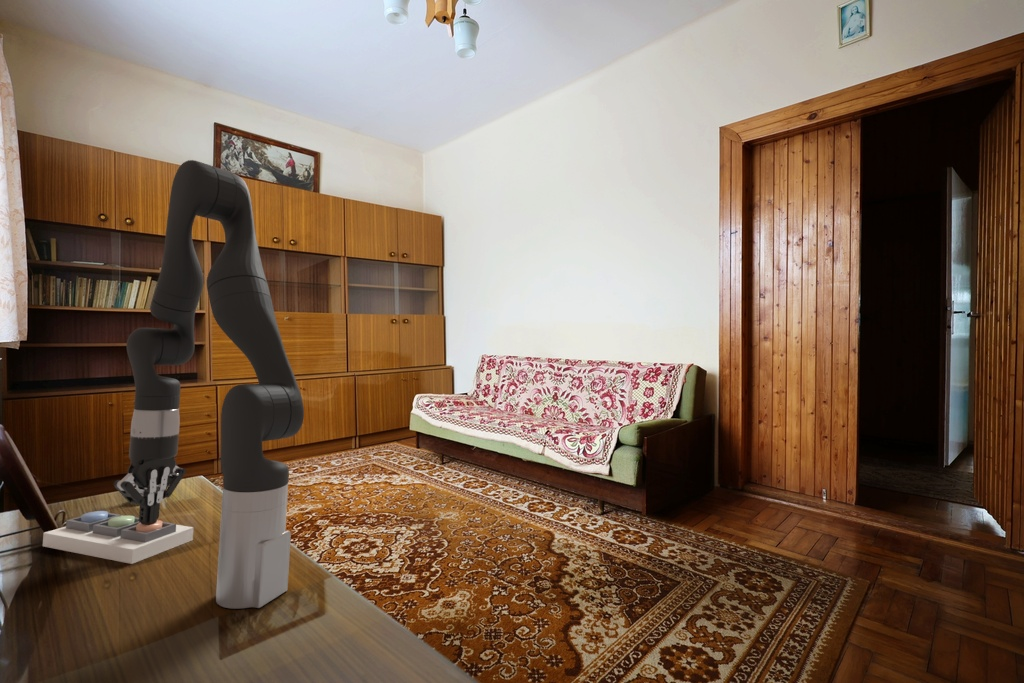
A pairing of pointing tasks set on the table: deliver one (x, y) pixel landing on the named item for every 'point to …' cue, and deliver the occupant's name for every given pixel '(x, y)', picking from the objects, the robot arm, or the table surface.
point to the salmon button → (148, 527)
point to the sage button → (121, 521)
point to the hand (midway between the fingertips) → (148, 523)
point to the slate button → (94, 516)
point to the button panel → (116, 539)
